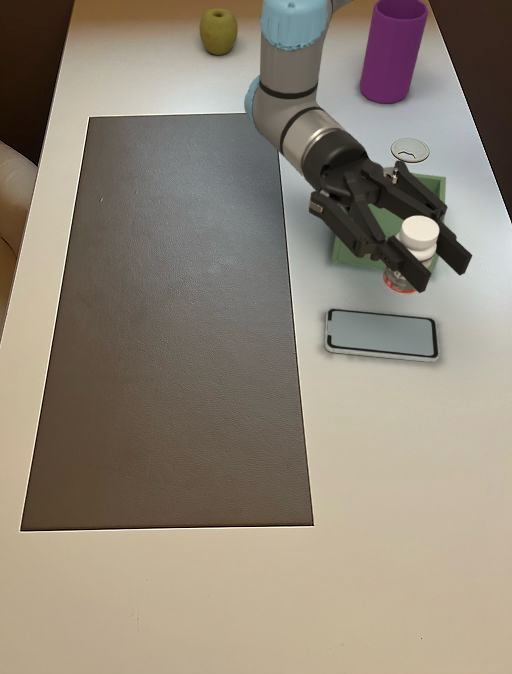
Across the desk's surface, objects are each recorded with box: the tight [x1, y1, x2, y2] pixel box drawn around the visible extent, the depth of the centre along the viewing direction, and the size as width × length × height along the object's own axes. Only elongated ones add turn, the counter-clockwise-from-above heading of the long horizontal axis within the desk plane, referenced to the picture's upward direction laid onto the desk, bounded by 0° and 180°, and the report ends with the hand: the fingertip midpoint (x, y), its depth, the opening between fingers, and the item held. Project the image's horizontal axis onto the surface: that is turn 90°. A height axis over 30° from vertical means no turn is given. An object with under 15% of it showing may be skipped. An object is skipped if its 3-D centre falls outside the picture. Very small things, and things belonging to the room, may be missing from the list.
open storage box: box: [330, 172, 447, 278], centre depth 93 cm, size 15×15×7 cm
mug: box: [359, 0, 429, 104], centre depth 114 cm, size 9×16×15 cm, turn 164°
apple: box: [198, 7, 239, 56], centre depth 124 cm, size 8×8×7 cm
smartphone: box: [324, 307, 441, 363], centre depth 84 cm, size 7×1×15 cm
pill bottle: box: [382, 216, 439, 296], centre depth 71 cm, size 5×5×8 cm
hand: (445, 274), depth 67 cm, fingers closed on pill bottle, 5 cm apart
